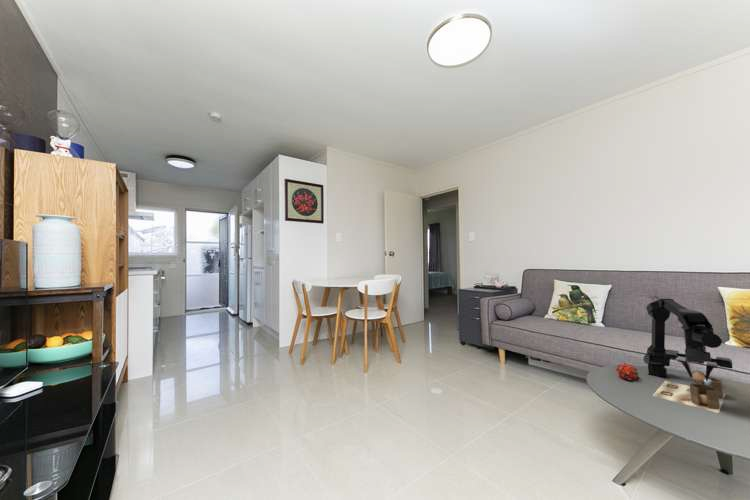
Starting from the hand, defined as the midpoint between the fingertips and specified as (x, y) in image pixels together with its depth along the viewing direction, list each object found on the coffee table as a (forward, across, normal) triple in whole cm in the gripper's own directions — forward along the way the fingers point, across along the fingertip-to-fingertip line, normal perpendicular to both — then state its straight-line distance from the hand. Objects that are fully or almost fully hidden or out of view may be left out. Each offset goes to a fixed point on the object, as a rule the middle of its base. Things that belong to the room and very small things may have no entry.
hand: (698, 378), depth 118 cm
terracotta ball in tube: (+10, +1, 0) cm, 10 cm away
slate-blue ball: (+5, +2, +15) cm, 16 cm away
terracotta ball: (+1, 0, 0) cm, 1 cm away
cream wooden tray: (+11, -5, +8) cm, 14 cm away
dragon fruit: (+11, -26, +12) cm, 30 cm away
